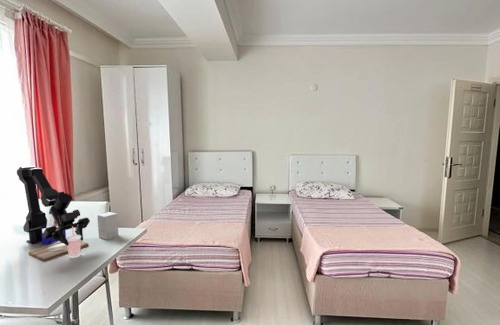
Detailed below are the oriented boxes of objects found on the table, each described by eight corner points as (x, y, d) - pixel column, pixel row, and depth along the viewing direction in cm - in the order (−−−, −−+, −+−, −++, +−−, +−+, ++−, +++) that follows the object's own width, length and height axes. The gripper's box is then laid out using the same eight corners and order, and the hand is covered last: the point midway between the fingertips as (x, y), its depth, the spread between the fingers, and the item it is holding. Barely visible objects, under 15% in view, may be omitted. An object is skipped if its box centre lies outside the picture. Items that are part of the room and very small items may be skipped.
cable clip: (58, 236, 158) (57, 225, 158) (65, 236, 158) (65, 226, 157) (39, 244, 146) (38, 233, 146) (47, 245, 146) (46, 233, 145)
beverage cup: (68, 254, 135) (65, 225, 133) (83, 252, 137) (81, 223, 136) (65, 259, 129) (63, 229, 128) (81, 257, 131) (79, 227, 130)
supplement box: (119, 235, 158) (117, 213, 157) (106, 240, 152) (104, 216, 151) (111, 233, 162) (109, 211, 161) (98, 237, 156) (96, 214, 155)
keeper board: (28, 254, 135) (28, 251, 134) (73, 240, 152) (72, 237, 152) (43, 261, 127) (43, 258, 127) (88, 245, 145) (88, 242, 144)
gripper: (43, 210, 124) (59, 239, 120) (86, 201, 140) (101, 226, 136) (36, 224, 129) (50, 253, 125) (78, 214, 145) (92, 239, 141)
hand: (75, 242), depth 132 cm, fingers closed on beverage cup, 6 cm apart
